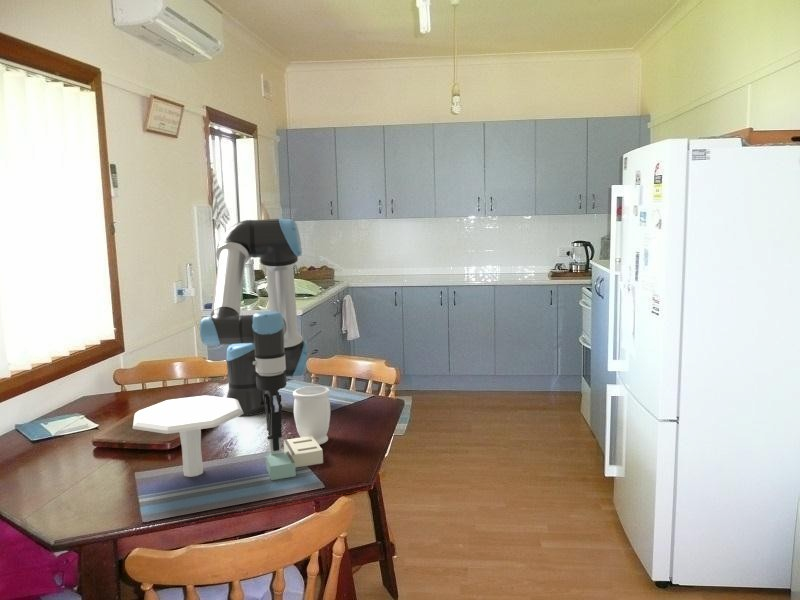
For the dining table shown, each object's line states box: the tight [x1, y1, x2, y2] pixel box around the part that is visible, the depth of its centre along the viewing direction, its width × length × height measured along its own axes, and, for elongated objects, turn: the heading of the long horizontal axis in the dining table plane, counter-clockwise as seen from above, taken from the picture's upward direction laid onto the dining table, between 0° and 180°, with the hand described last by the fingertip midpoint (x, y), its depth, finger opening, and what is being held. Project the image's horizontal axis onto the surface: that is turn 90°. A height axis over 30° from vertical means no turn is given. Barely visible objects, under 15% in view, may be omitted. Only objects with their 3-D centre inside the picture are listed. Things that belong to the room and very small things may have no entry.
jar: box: [292, 385, 331, 446], centre depth 182 cm, size 11×10×15 cm
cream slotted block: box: [283, 436, 324, 469], centre depth 170 cm, size 12×8×4 cm, turn 21°
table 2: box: [132, 394, 244, 478], centre depth 161 cm, size 28×28×17 cm
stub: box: [265, 451, 297, 481], centre depth 161 cm, size 8×6×4 cm
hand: (276, 460), depth 165 cm, fingers closed
